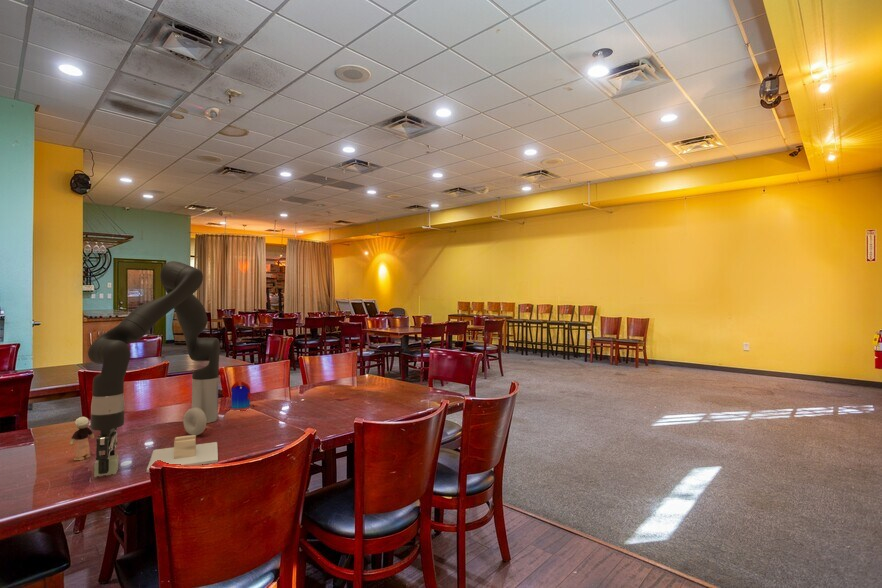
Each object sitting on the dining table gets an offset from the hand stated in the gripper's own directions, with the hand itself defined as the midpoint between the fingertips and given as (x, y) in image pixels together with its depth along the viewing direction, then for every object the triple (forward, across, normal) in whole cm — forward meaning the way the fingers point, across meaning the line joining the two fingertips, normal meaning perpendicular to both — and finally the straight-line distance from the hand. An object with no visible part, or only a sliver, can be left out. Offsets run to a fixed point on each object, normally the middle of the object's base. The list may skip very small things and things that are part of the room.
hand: (106, 467), depth 124 cm
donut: (+1, +27, -21) cm, 34 cm away
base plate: (+1, +4, -19) cm, 19 cm away
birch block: (0, +4, -19) cm, 19 cm away
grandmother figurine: (+1, +16, +9) cm, 19 cm away
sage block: (+1, 0, 0) cm, 1 cm away
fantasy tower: (+1, +62, -38) cm, 73 cm away
